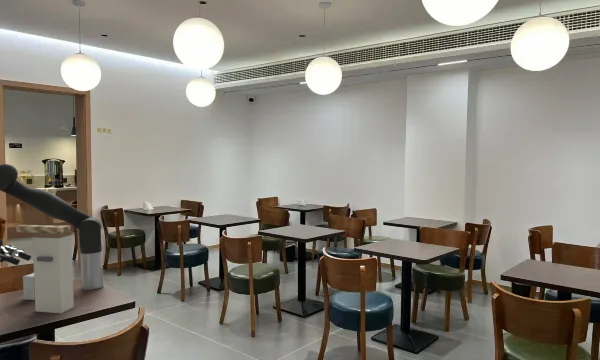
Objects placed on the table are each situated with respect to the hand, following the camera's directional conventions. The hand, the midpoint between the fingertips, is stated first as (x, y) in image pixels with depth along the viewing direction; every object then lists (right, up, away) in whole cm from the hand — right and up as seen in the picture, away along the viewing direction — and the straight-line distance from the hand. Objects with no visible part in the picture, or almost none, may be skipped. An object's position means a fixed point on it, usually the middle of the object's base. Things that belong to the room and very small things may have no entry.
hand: (24, 260), depth 171 cm
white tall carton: (+8, -21, +6) cm, 24 cm away
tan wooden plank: (+4, +11, +5) cm, 13 cm away
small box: (-9, -21, +22) cm, 31 cm away
